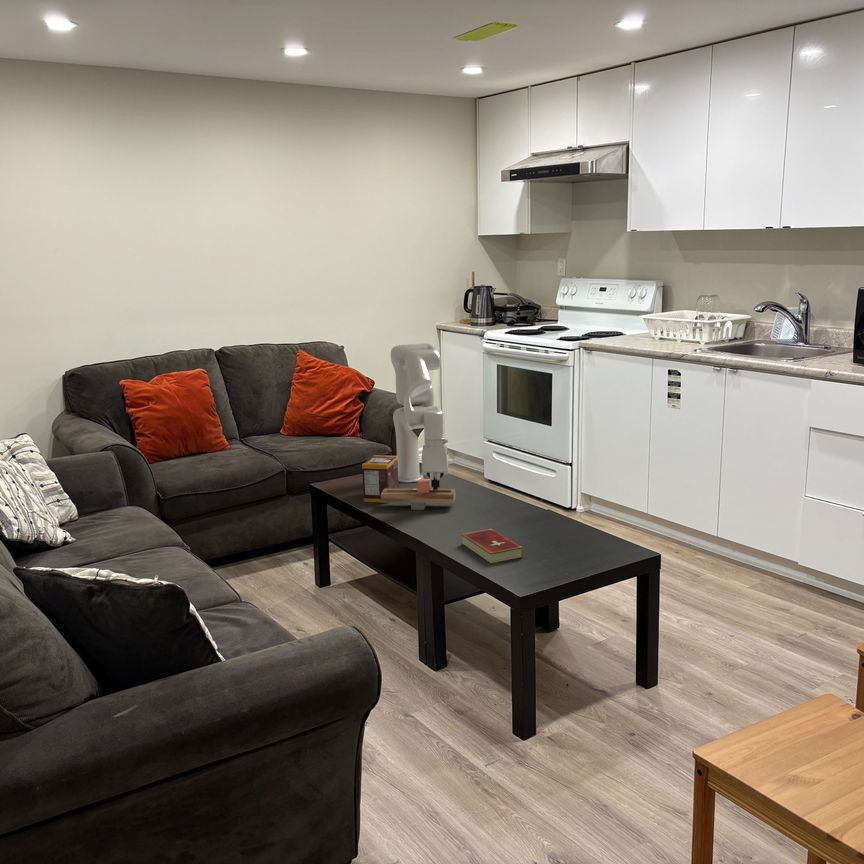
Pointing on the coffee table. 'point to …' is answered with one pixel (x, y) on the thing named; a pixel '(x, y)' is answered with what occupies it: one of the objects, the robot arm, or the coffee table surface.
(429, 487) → the block
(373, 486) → the supplement box
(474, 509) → the coffee table surface
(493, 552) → the hardcover book
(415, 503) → the beam
